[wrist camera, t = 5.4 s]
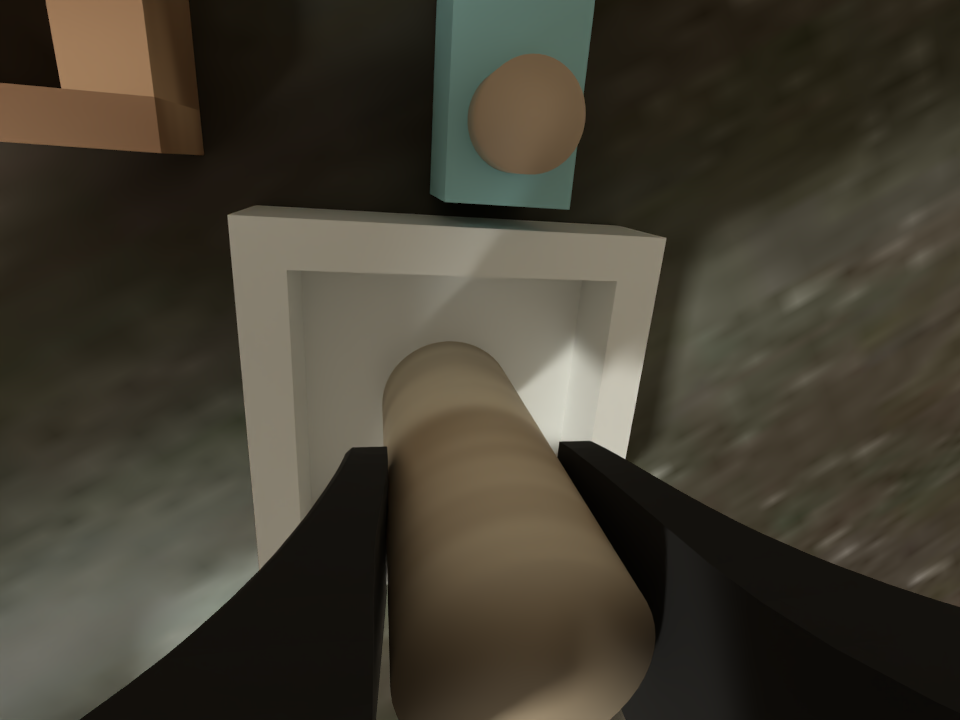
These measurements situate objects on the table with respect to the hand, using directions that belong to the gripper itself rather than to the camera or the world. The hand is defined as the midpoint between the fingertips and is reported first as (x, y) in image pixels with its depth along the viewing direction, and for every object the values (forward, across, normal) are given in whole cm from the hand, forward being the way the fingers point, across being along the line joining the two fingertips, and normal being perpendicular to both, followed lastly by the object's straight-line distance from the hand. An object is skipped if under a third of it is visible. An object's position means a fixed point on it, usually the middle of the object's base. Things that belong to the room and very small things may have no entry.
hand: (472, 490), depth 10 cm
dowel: (+4, 0, 0) cm, 4 cm away
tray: (+5, 0, 0) cm, 5 cm away
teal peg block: (+5, -1, -8) cm, 10 cm away
